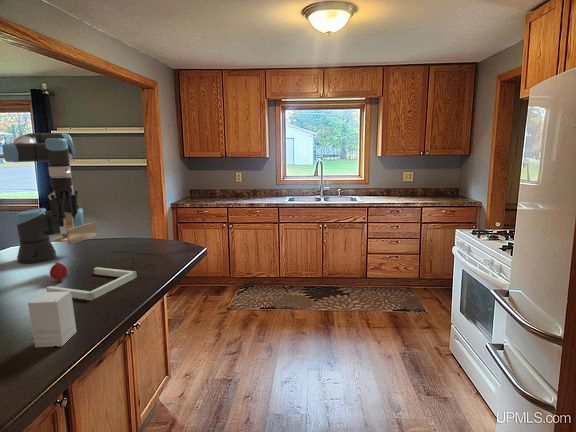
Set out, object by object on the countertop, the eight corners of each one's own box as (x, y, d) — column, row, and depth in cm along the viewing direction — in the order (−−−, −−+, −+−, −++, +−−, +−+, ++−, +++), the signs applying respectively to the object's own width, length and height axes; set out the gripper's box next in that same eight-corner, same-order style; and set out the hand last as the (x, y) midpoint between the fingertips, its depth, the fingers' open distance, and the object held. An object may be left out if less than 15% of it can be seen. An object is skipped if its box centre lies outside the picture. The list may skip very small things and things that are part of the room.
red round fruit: (56, 278, 145) (53, 259, 143) (71, 278, 145) (69, 259, 144) (48, 284, 139) (45, 264, 137) (63, 283, 139) (61, 263, 138)
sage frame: (47, 294, 129) (46, 287, 129) (97, 273, 151) (96, 267, 150) (91, 300, 124) (90, 293, 123) (136, 277, 145) (136, 271, 145)
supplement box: (77, 332, 102) (72, 290, 100) (62, 347, 95) (56, 302, 92) (50, 333, 102) (45, 291, 99) (33, 347, 95) (26, 302, 92)
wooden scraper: (47, 242, 147) (43, 215, 145) (74, 234, 160) (71, 209, 158) (70, 244, 145) (67, 217, 142) (96, 235, 158) (93, 210, 156)
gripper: (51, 178, 139) (59, 238, 144) (83, 175, 155) (89, 228, 159) (35, 178, 141) (43, 236, 146) (68, 174, 156) (75, 227, 161)
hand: (67, 232), depth 152 cm, fingers closed on wooden scraper, 3 cm apart
